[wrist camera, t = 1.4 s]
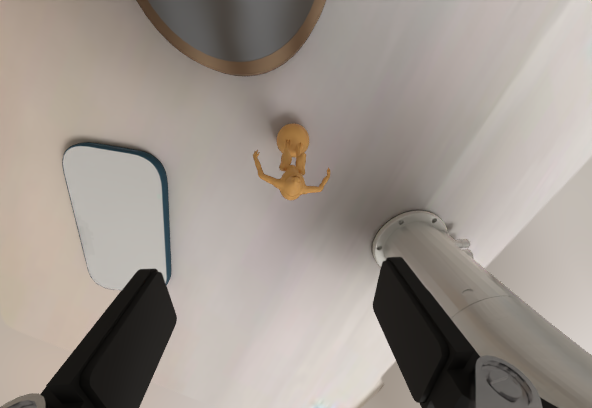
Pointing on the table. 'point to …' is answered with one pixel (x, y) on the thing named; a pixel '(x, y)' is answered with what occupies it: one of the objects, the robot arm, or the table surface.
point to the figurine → (291, 145)
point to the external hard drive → (119, 211)
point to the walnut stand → (235, 30)
